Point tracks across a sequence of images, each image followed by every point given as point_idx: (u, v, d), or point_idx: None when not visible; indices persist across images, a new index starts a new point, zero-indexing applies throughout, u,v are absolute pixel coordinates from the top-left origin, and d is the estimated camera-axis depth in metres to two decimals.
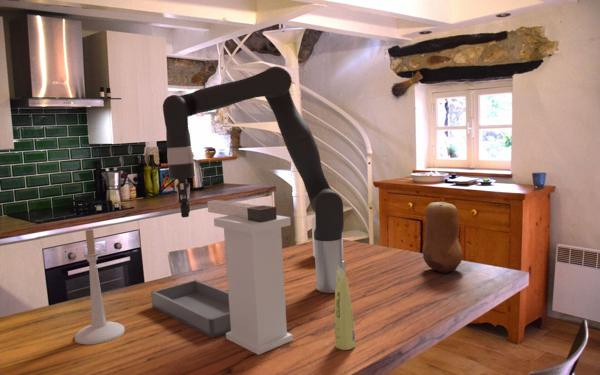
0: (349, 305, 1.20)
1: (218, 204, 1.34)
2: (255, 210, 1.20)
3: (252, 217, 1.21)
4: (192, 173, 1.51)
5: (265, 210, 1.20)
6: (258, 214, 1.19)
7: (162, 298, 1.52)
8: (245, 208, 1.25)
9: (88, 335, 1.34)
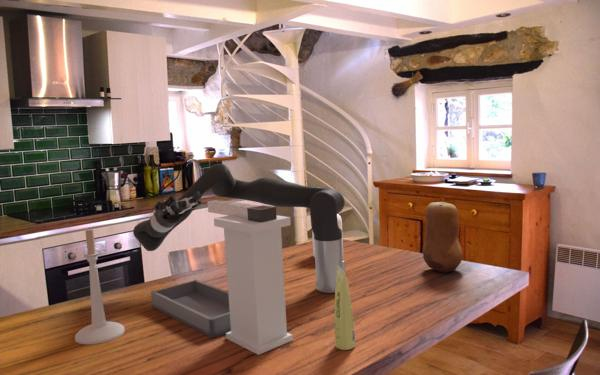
0: (349, 305, 1.20)
1: (218, 204, 1.34)
2: (255, 210, 1.20)
3: (252, 217, 1.21)
4: None
5: (265, 210, 1.20)
6: (258, 214, 1.19)
7: (162, 298, 1.52)
8: (245, 208, 1.25)
9: (88, 335, 1.34)
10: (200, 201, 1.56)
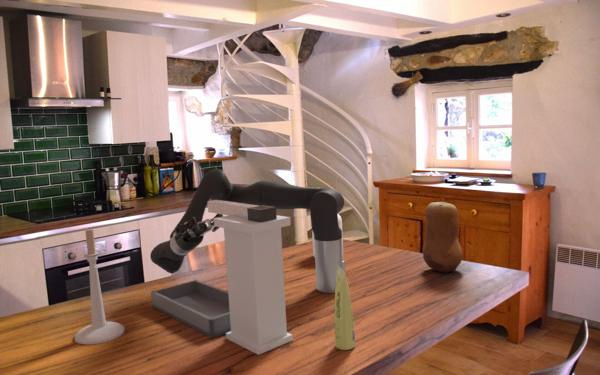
0: (349, 305, 1.20)
1: (218, 204, 1.34)
2: (255, 210, 1.20)
3: (252, 217, 1.21)
4: None
5: (265, 210, 1.20)
6: (258, 214, 1.19)
7: (162, 298, 1.52)
8: (245, 208, 1.25)
9: (88, 335, 1.34)
10: None
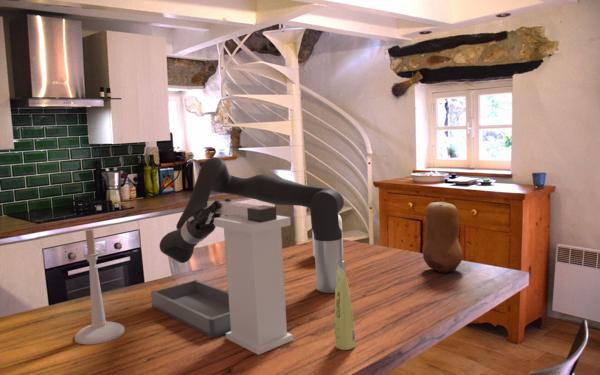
0: (349, 305, 1.20)
1: None
2: (255, 210, 1.20)
3: (252, 217, 1.21)
4: None
5: (265, 210, 1.20)
6: (258, 214, 1.19)
7: (162, 298, 1.52)
8: (245, 208, 1.25)
9: (88, 335, 1.34)
10: None
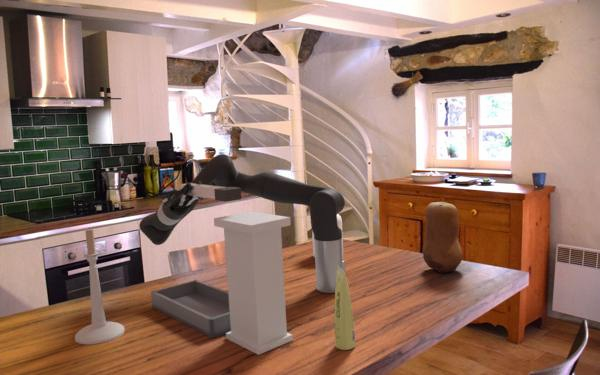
0: (349, 305, 1.20)
1: None
2: (221, 190, 1.30)
3: (219, 197, 1.31)
4: None
5: (230, 190, 1.30)
6: (223, 194, 1.29)
7: (162, 298, 1.52)
8: (213, 189, 1.35)
9: (88, 335, 1.34)
10: None
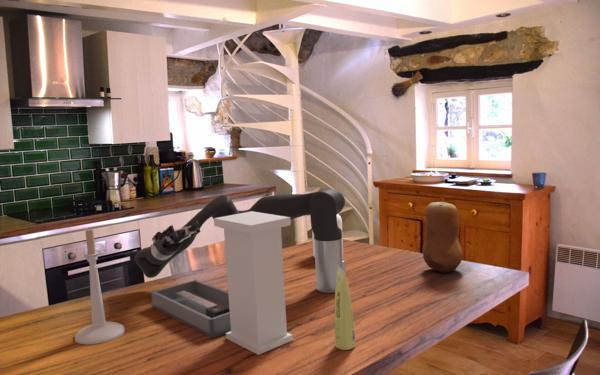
0: (349, 305, 1.20)
1: (183, 297, 1.54)
2: (211, 312, 1.40)
3: None
4: None
5: (220, 312, 1.40)
6: (214, 316, 1.40)
7: (162, 298, 1.52)
8: (204, 307, 1.45)
9: (88, 335, 1.34)
10: (199, 229, 1.60)
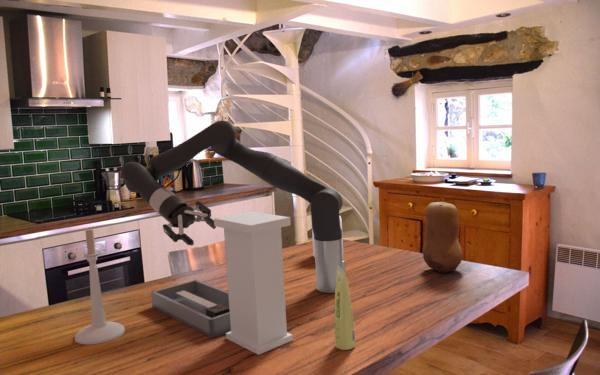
0: (349, 305, 1.20)
1: (183, 297, 1.54)
2: (211, 312, 1.40)
3: None
4: (169, 207, 1.48)
5: (220, 312, 1.40)
6: (214, 316, 1.40)
7: (162, 298, 1.52)
8: (204, 307, 1.45)
9: (88, 335, 1.34)
10: (210, 215, 1.53)
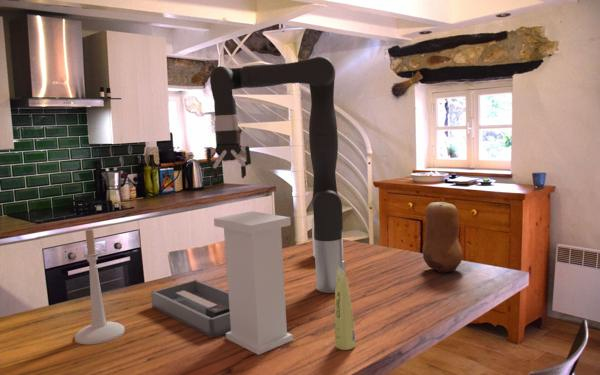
0: (349, 305, 1.20)
1: (183, 297, 1.54)
2: (211, 312, 1.40)
3: None
4: (222, 140, 1.61)
5: (220, 312, 1.40)
6: (214, 316, 1.40)
7: (162, 298, 1.52)
8: (204, 307, 1.45)
9: (88, 335, 1.34)
10: None
